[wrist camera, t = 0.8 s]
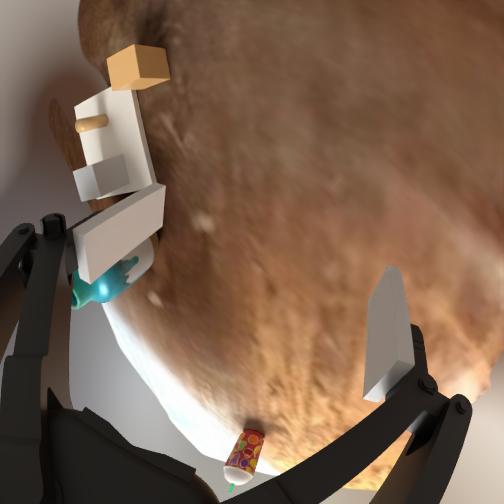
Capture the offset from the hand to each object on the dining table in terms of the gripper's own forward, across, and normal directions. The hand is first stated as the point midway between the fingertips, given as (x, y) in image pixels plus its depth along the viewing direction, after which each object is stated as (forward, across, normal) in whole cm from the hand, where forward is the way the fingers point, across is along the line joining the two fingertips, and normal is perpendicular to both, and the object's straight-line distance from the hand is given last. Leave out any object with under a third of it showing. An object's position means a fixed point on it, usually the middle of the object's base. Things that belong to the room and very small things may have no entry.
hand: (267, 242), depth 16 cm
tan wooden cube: (+24, -26, +8) cm, 36 cm away
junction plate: (+23, -32, -5) cm, 40 cm away
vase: (+23, -24, -20) cm, 39 cm away
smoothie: (+22, +9, -73) cm, 77 cm away
